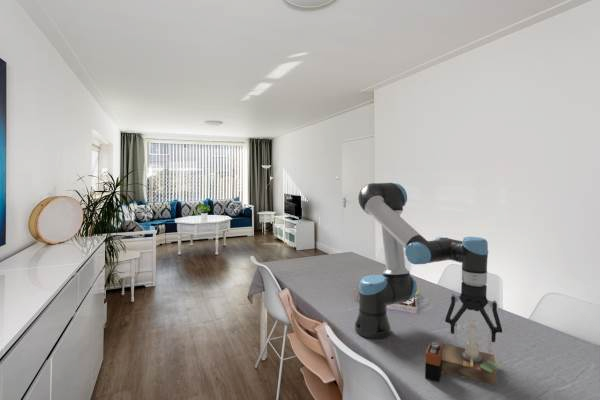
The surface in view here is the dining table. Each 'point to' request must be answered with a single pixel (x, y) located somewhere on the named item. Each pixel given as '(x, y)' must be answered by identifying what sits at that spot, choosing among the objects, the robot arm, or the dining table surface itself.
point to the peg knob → (472, 346)
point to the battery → (433, 362)
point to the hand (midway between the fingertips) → (472, 346)
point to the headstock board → (468, 364)
